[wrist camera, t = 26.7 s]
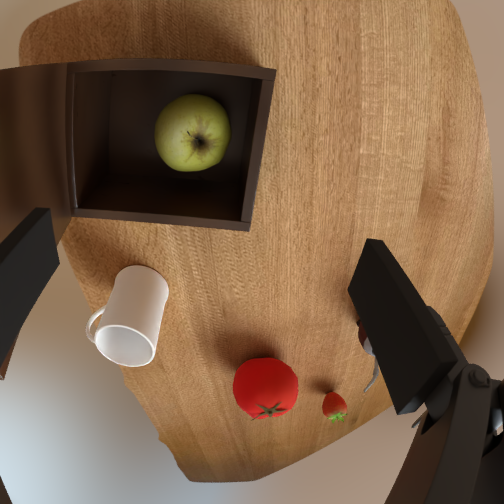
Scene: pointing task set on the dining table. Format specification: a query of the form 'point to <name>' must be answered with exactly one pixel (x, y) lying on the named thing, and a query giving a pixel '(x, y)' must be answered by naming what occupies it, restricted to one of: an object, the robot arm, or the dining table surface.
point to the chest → (144, 148)
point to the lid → (32, 149)
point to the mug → (131, 317)
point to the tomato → (265, 387)
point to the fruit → (334, 406)
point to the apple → (192, 133)
